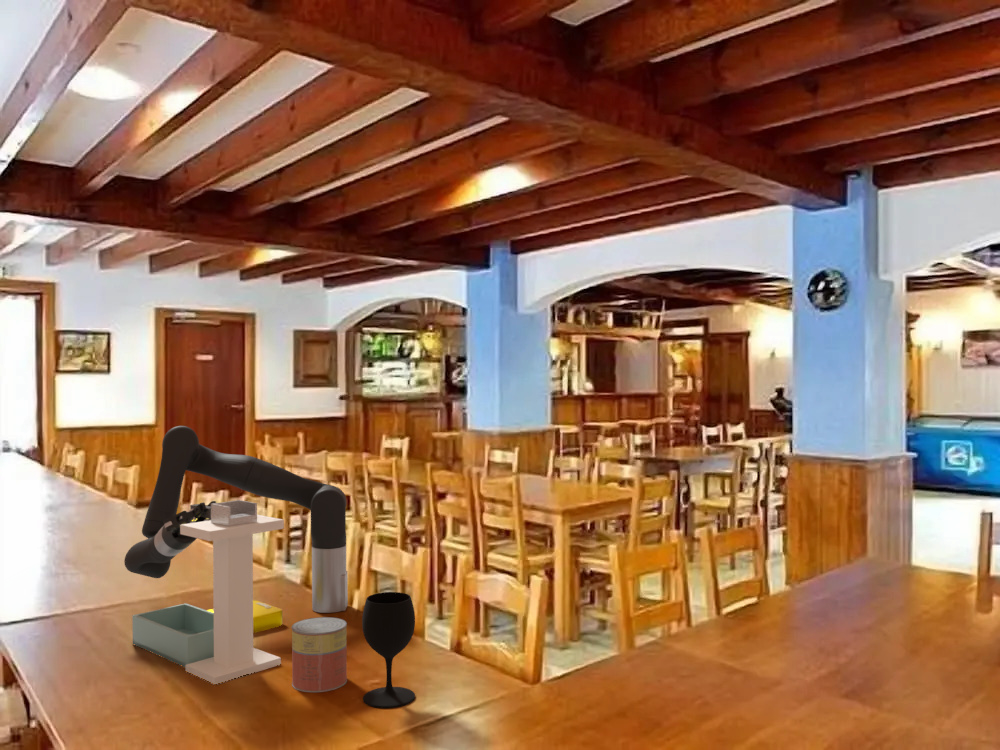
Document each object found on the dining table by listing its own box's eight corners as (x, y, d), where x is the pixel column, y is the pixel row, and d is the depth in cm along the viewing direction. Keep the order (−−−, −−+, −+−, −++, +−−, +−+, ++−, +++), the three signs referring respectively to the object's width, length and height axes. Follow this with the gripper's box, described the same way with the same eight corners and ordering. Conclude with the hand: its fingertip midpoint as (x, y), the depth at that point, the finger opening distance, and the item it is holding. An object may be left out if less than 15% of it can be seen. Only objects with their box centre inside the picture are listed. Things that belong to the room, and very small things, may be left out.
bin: (132, 644, 202) (132, 615, 202) (186, 631, 212) (185, 603, 212) (187, 669, 185) (187, 637, 185) (242, 653, 195) (242, 622, 195)
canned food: (327, 668, 185) (327, 613, 185) (357, 682, 177) (357, 624, 177) (281, 682, 177) (281, 625, 177) (310, 697, 169) (310, 636, 169)
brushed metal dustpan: (180, 515, 193) (180, 498, 193) (208, 511, 198) (208, 494, 198) (228, 526, 180) (228, 507, 180) (257, 521, 185) (257, 503, 185)
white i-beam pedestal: (181, 672, 182) (180, 524, 182) (254, 651, 196) (253, 513, 196) (210, 686, 175) (209, 531, 174) (284, 663, 188) (283, 519, 188)
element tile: (285, 626, 217) (285, 608, 217) (231, 640, 206) (231, 620, 206) (255, 615, 227) (255, 597, 227) (202, 627, 216) (202, 608, 216)
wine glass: (423, 691, 171) (423, 593, 171) (401, 711, 161) (400, 606, 161) (377, 685, 175) (377, 589, 174) (353, 704, 165) (352, 602, 165)
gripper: (144, 525, 197) (176, 493, 187) (199, 516, 208) (232, 487, 198) (152, 555, 195) (185, 525, 185) (207, 545, 205) (241, 516, 195)
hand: (209, 505), depth 191 cm, fingers closed on brushed metal dustpan, 2 cm apart
